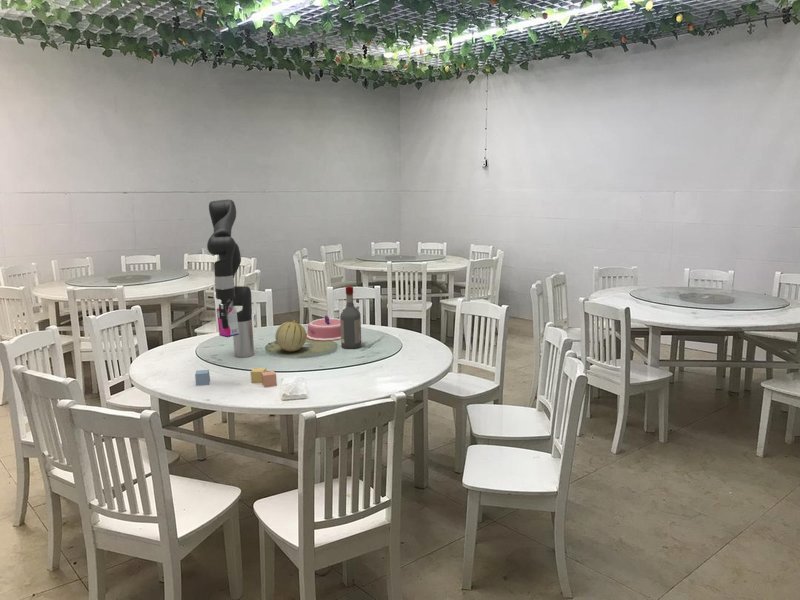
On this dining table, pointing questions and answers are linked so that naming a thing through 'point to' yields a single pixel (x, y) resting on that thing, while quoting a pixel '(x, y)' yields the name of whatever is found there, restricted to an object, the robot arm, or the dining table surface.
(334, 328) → the cake
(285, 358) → the dining table surface
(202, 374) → the slate block
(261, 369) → the ochre block
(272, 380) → the terracotta block
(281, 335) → the cantaloupe
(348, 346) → the liquor
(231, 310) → the supplement box
